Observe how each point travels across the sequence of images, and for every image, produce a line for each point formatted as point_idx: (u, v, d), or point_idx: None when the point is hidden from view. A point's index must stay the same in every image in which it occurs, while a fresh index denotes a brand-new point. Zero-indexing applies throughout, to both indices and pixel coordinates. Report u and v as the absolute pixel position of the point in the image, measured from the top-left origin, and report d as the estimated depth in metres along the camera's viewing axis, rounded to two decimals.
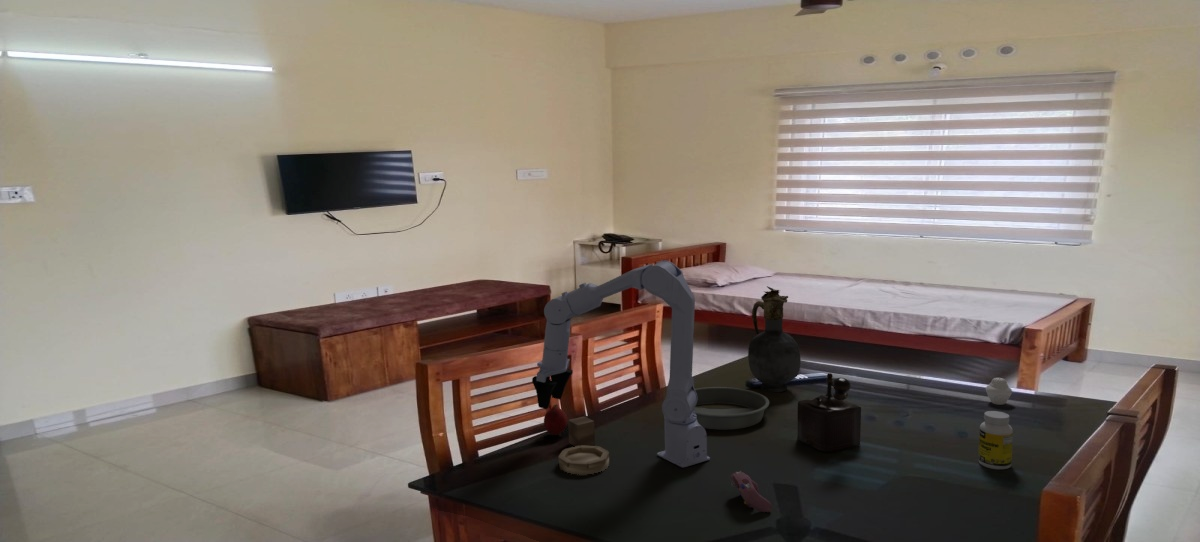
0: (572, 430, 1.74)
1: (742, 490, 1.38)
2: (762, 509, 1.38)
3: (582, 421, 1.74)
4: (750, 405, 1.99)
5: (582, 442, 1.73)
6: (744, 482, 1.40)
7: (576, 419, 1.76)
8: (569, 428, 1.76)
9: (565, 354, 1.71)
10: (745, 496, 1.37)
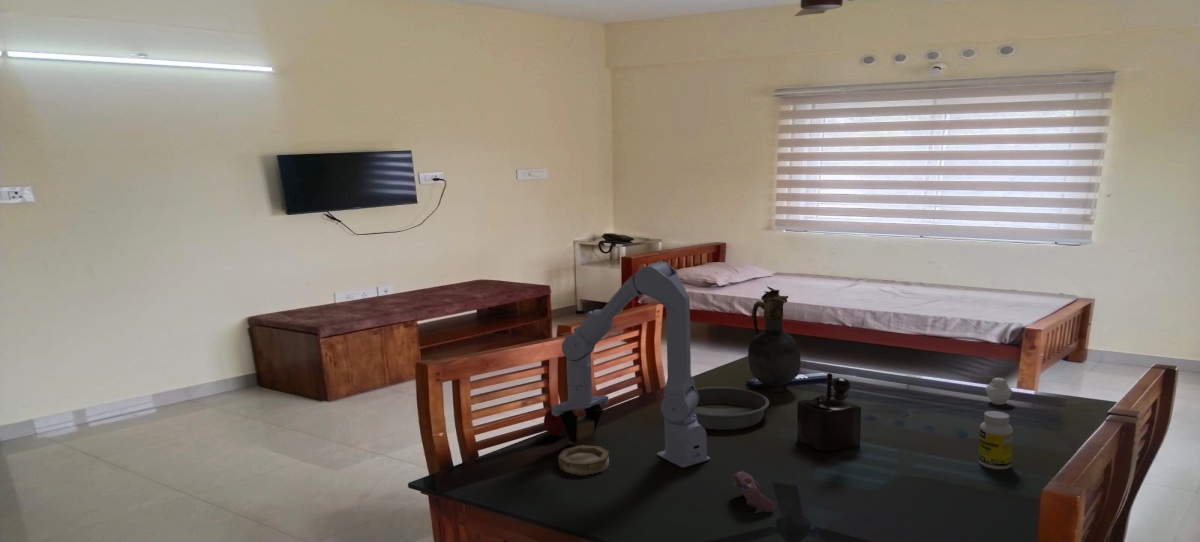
0: None
1: (745, 490, 1.38)
2: (765, 508, 1.38)
3: (582, 421, 1.74)
4: (750, 405, 1.99)
5: (582, 442, 1.73)
6: (747, 482, 1.40)
7: None
8: None
9: (583, 390, 1.71)
10: (748, 496, 1.37)
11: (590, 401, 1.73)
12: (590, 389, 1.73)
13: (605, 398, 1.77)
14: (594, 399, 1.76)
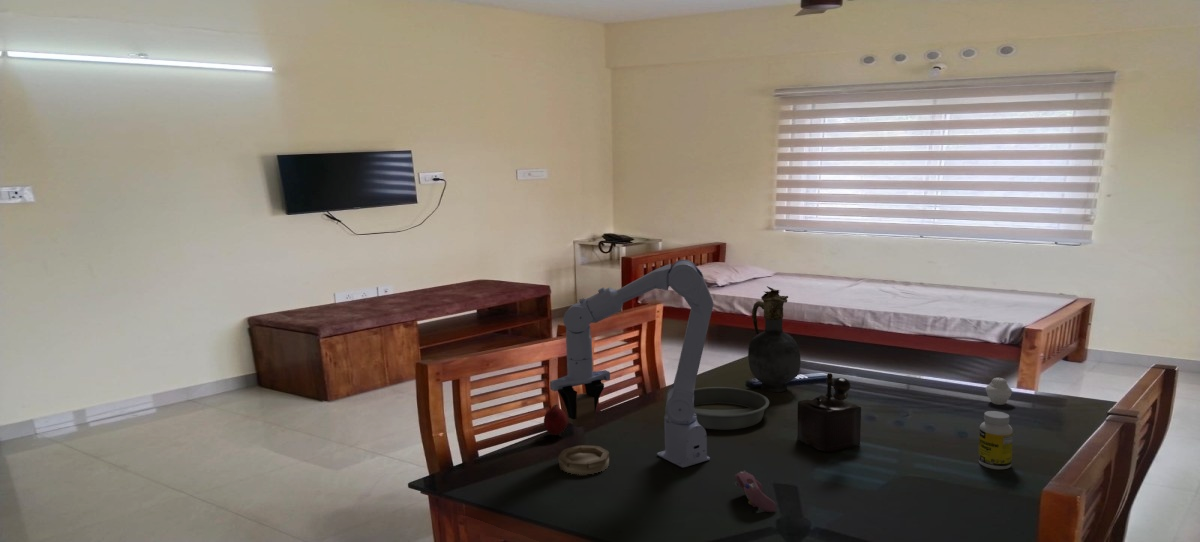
0: None
1: (747, 490, 1.38)
2: (766, 508, 1.38)
3: (582, 398, 1.67)
4: (750, 405, 1.99)
5: (581, 420, 1.66)
6: (748, 482, 1.40)
7: None
8: None
9: (583, 364, 1.64)
10: (750, 496, 1.37)
11: (590, 376, 1.65)
12: (590, 363, 1.65)
13: (606, 373, 1.69)
14: (595, 374, 1.69)
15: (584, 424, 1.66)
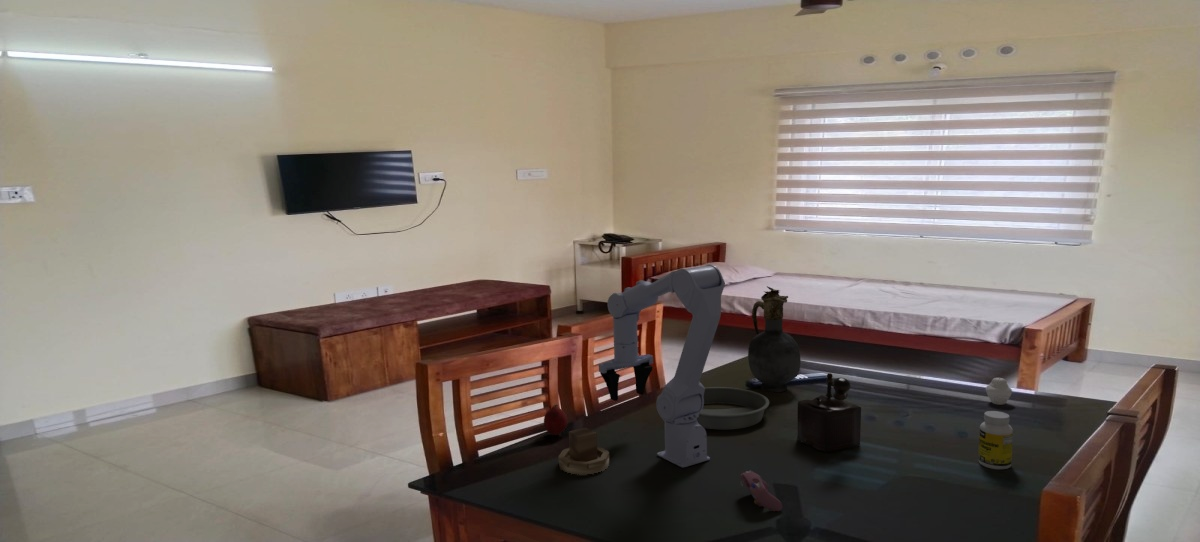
0: (573, 442, 1.62)
1: (753, 489, 1.38)
2: (773, 508, 1.38)
3: (584, 433, 1.62)
4: (750, 405, 1.99)
5: (583, 456, 1.61)
6: (754, 481, 1.40)
7: (577, 430, 1.64)
8: (570, 440, 1.63)
9: (630, 348, 1.75)
10: (756, 495, 1.38)
11: (636, 359, 1.76)
12: (636, 347, 1.76)
13: (650, 357, 1.80)
14: (639, 358, 1.80)
15: (586, 460, 1.61)
